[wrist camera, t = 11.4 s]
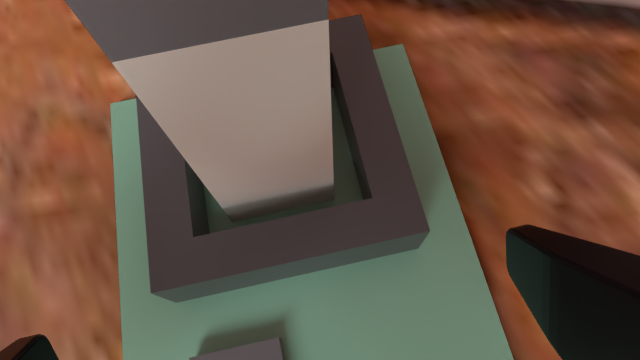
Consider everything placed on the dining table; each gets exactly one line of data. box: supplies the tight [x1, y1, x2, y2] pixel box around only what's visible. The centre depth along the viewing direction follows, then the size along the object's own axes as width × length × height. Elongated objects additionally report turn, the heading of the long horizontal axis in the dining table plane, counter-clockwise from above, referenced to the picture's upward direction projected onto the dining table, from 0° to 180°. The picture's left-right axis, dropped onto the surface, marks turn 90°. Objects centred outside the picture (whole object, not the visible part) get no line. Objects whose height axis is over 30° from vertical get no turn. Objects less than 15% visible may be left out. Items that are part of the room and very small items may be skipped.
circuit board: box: [110, 14, 514, 360], centre depth 16 cm, size 17×13×3 cm
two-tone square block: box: [65, 0, 334, 222], centre depth 13 cm, size 4×4×12 cm
